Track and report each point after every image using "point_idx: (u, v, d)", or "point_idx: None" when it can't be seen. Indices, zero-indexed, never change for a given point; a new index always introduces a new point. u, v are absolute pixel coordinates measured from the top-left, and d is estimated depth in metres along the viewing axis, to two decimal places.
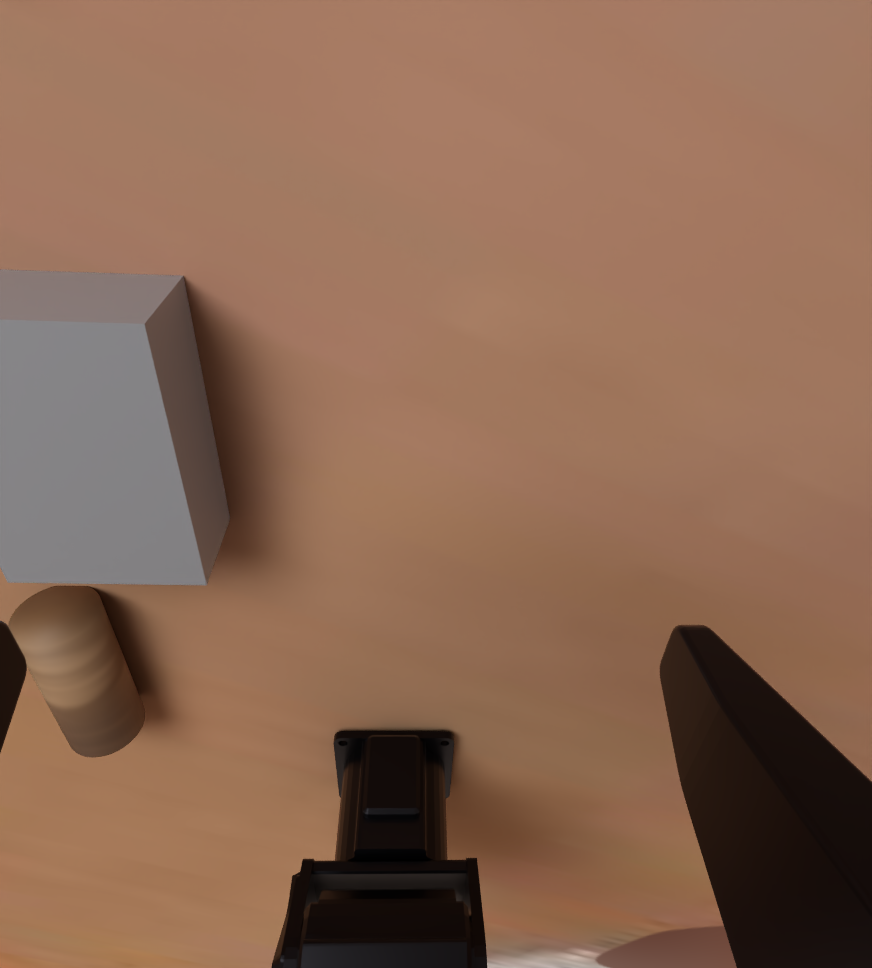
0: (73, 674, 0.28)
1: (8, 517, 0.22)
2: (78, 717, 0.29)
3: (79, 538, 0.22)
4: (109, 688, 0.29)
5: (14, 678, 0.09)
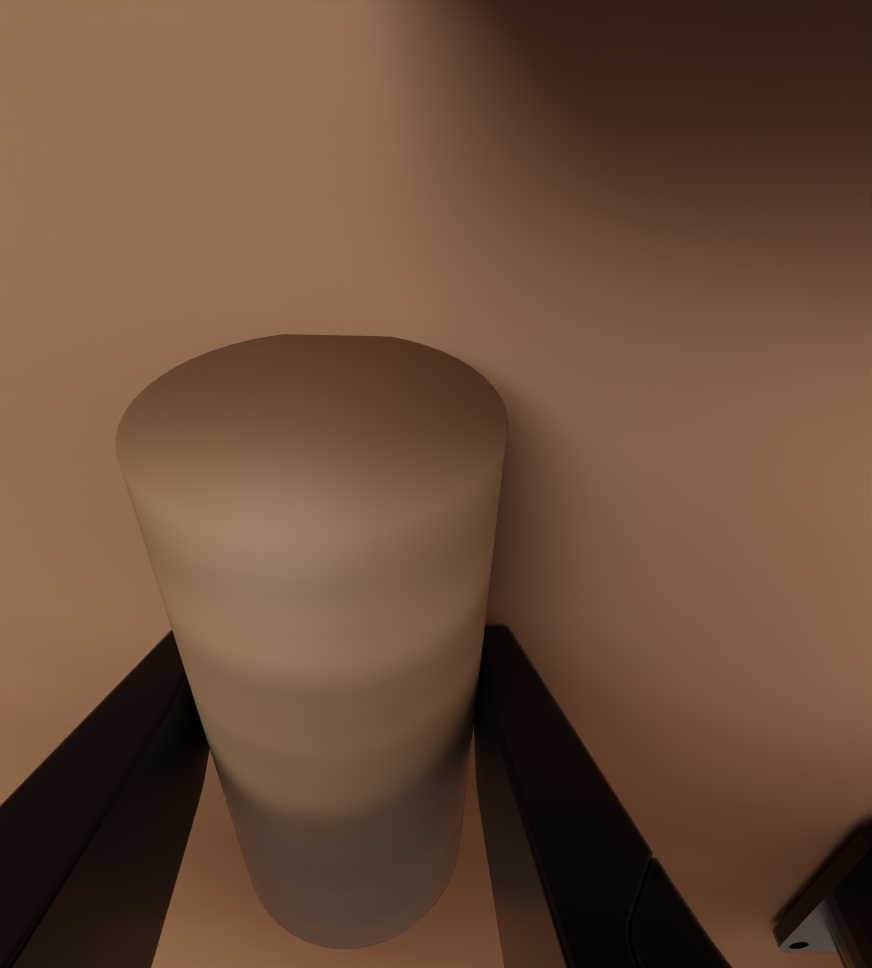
0: (388, 689, 0.06)
1: None
2: (341, 848, 0.08)
3: None
4: (457, 741, 0.08)
5: None
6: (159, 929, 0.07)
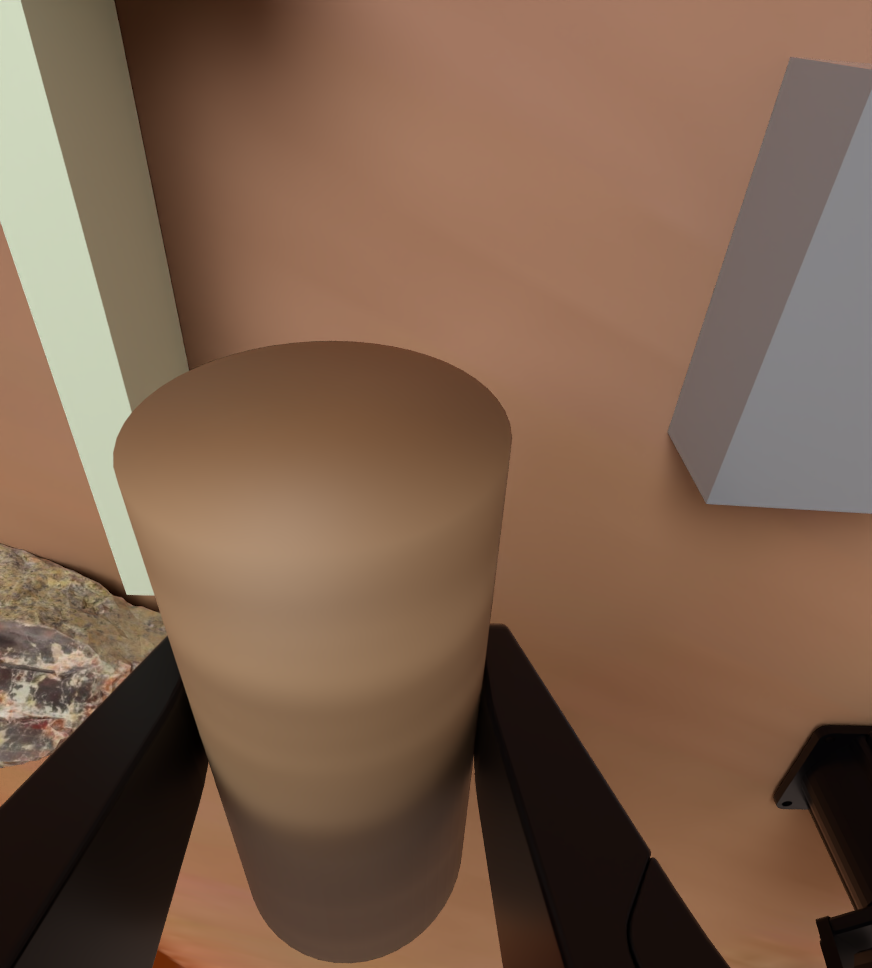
0: (389, 706, 0.06)
1: (787, 409, 0.16)
2: (341, 864, 0.08)
3: (852, 443, 0.17)
4: (459, 757, 0.08)
5: None
6: (160, 929, 0.07)
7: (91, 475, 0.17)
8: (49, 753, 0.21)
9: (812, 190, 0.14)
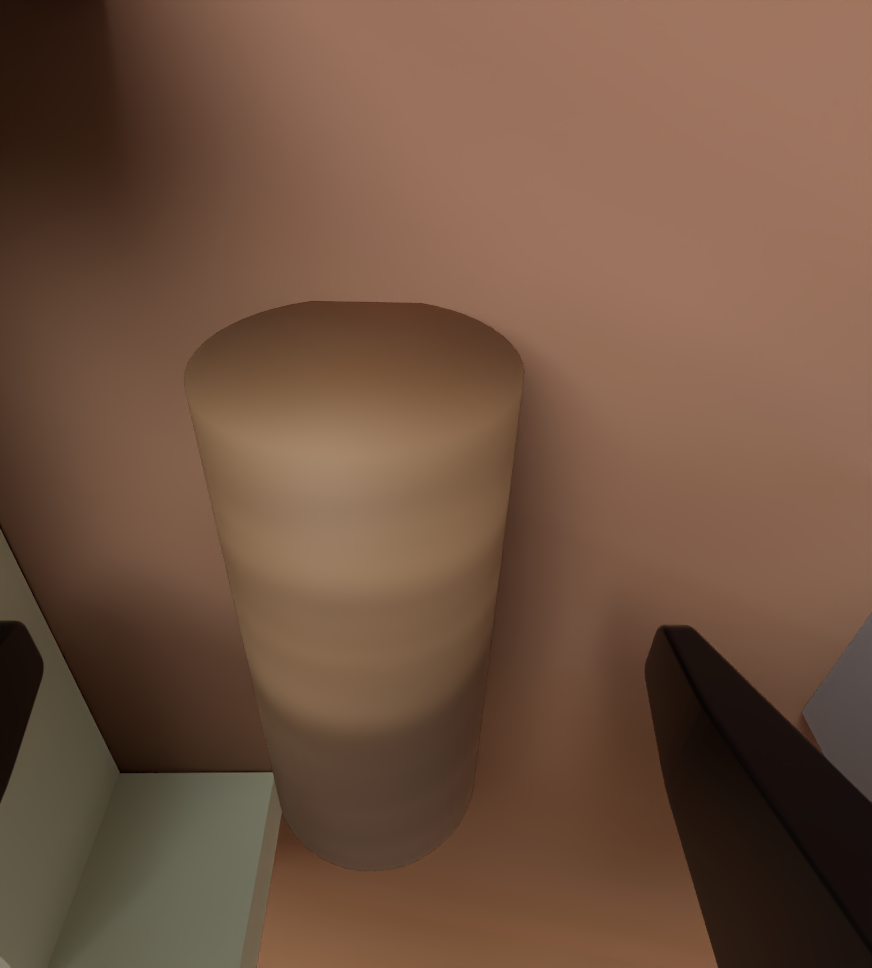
0: (455, 588, 0.07)
1: None
2: (406, 758, 0.09)
3: None
4: (489, 644, 0.09)
5: (32, 678, 0.09)
6: None
7: None
8: None
9: None
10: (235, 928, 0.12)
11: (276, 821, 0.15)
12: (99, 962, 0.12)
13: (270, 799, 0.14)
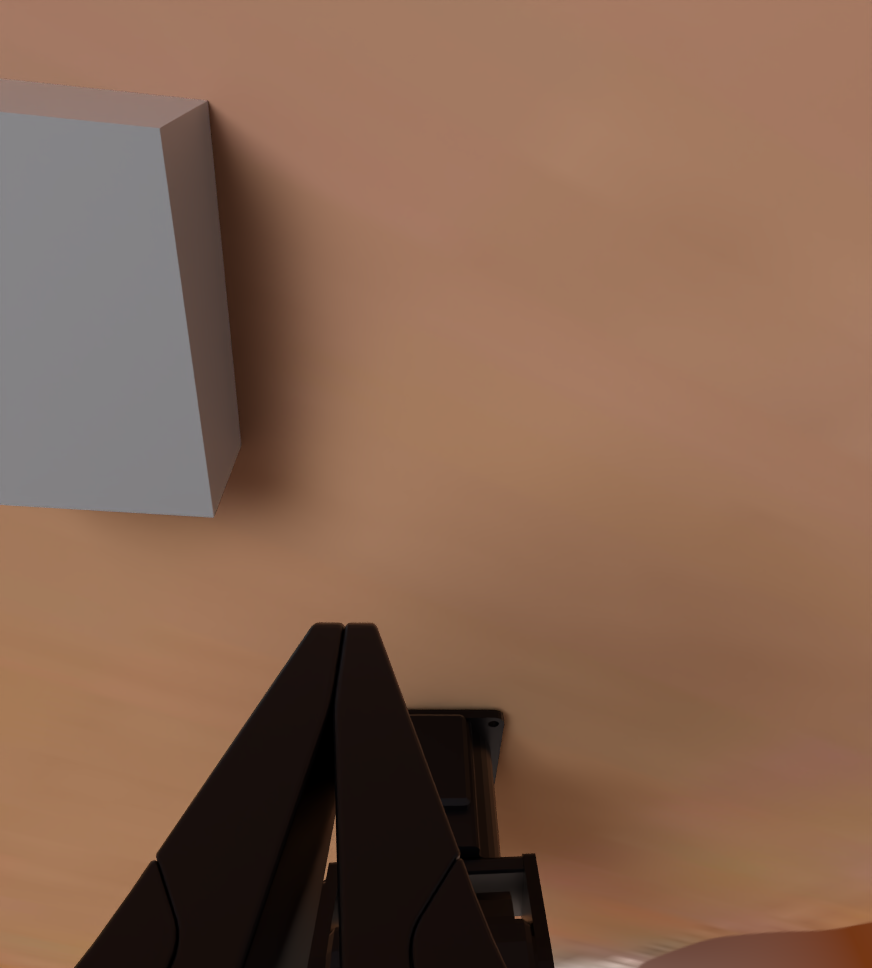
0: None
1: None
2: None
3: (53, 445, 0.17)
4: None
5: None
6: (313, 926, 0.08)
7: None
8: None
9: None
10: None
11: None
12: None
13: None
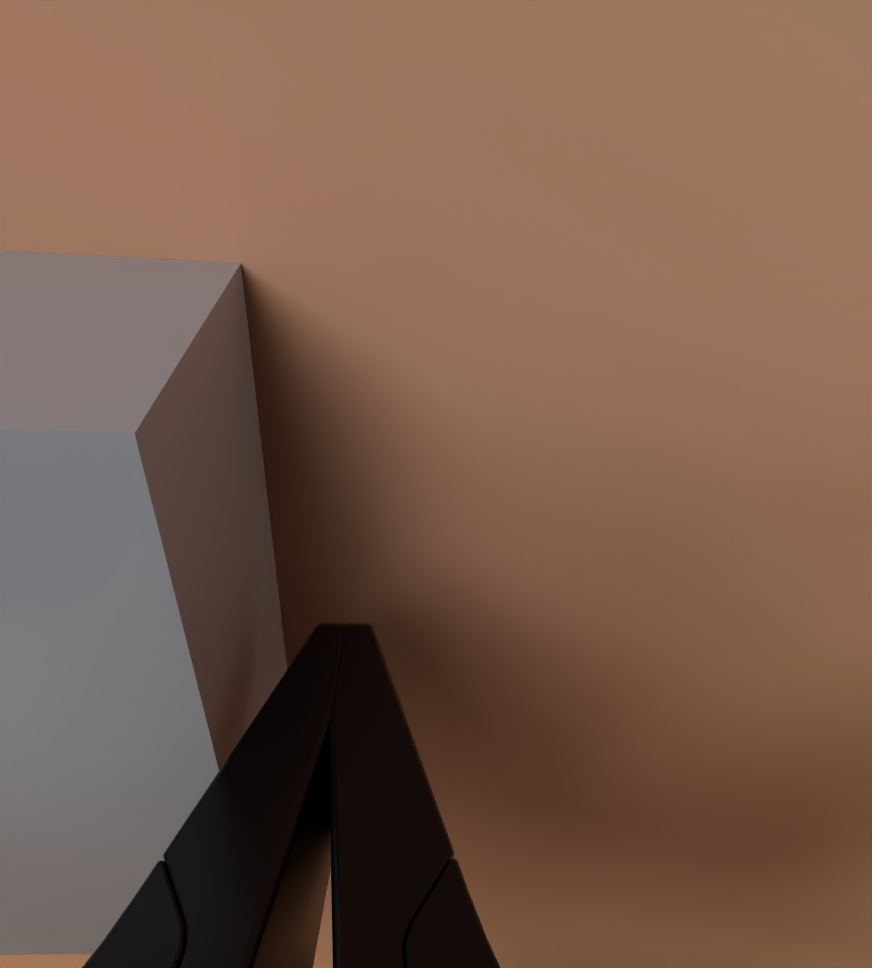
0: None
1: None
2: None
3: None
4: None
5: None
6: (318, 928, 0.08)
7: None
8: None
9: None
10: None
11: None
12: None
13: None
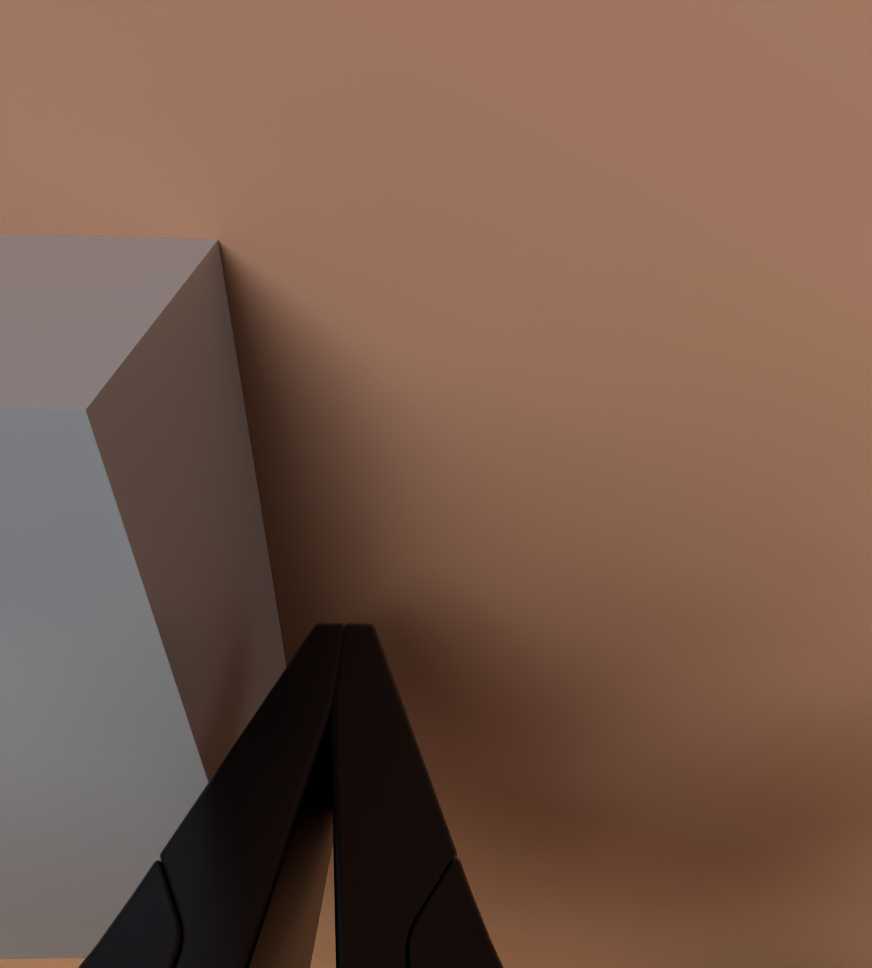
0: None
1: None
2: None
3: None
4: None
5: None
6: (316, 927, 0.08)
7: None
8: None
9: None
10: None
11: None
12: None
13: None
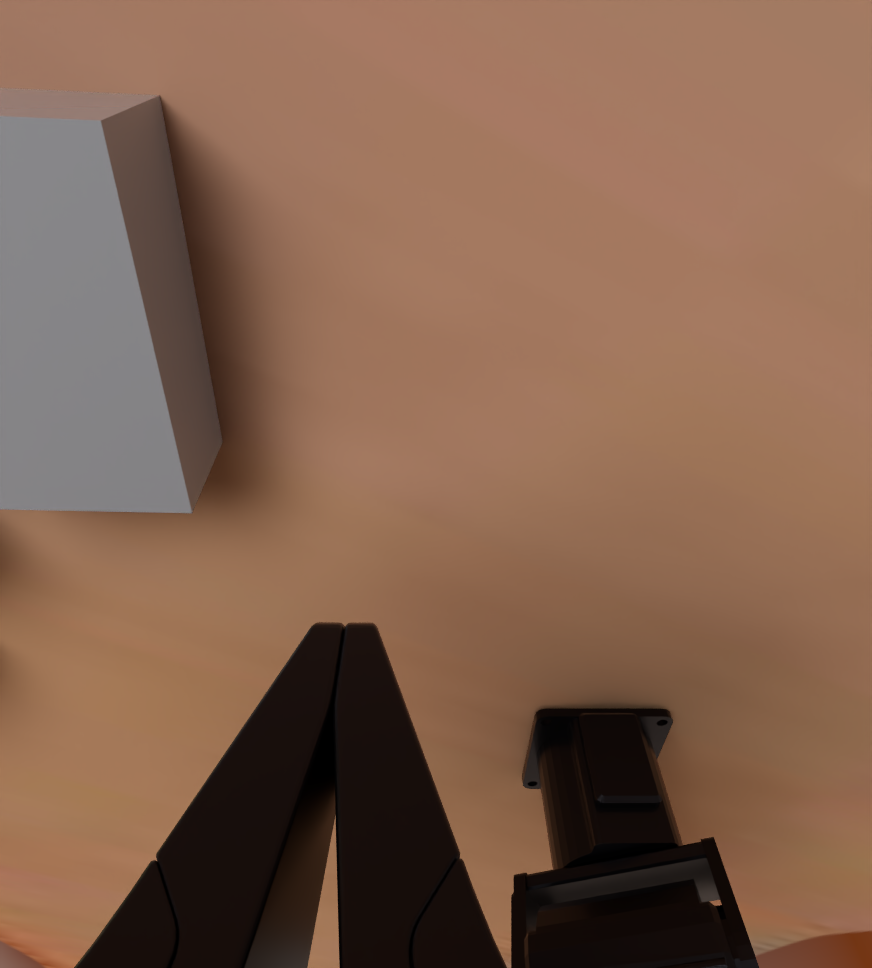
0: None
1: None
2: None
3: (28, 447, 0.17)
4: None
5: None
6: (313, 928, 0.08)
7: None
8: None
9: None
10: None
11: None
12: None
13: None
